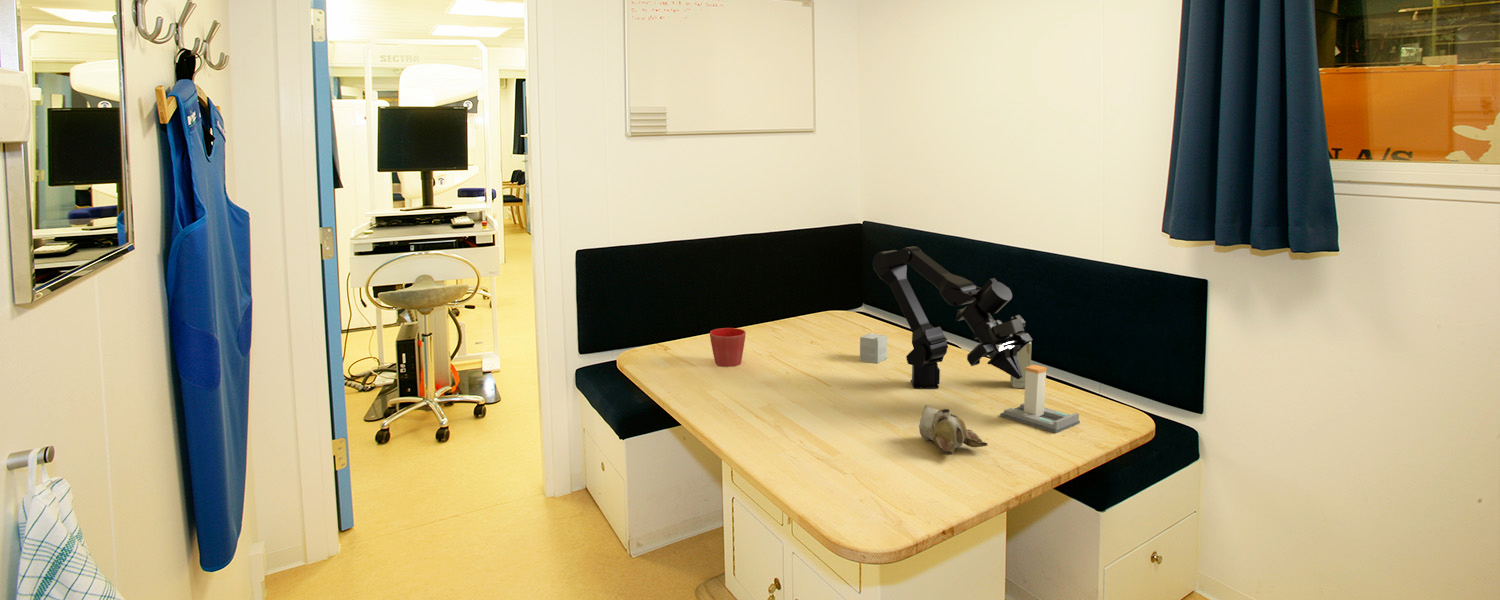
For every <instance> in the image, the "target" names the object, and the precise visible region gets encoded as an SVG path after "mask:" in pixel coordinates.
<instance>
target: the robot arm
mask: <svg viewBox="0 0 1500 600" xmlns="http://www.w3.org/2000/svg"><path fill="white" fill-rule="evenodd" d="M871 264H872V268H873V270H874V271H875V273H876V274H877V275H878V277H879V278H880V280H883V282H884V283H886V284H887V285H889V287H890V289H891V291H892V293H893V295H894V297H895V299H896V301H897V303H898V306H899V307H900V309H901V312H902V314H903V315H904V318H905V320H906V321H907V323H908V326H909V328H910V330H911V332H912V335H911V345H912V347H913V349H912V350H911V351H909V352H908V354H907V355H906V357H905V358H906V362H907V364H908V365H911V379H910V384H911V386H912V387H913V389H939V387H940V386H939V385H940V380H941V379H940V377H941V369H940V368H939V363H941V362H943V361H944V360H943V359H944V357H945V355H946V354H947V351H948V348H949V345H948V342H947V341H948V338H947V337H946V336H945V334H944V331H943V329H942V327H941V326H936V327H934V326H933V325H932V324H931V323H930V321H929V320H928V318H927V316H926V314H925V312H924V310H923V307H922V306H921V303H920V302H919V300H918V298H917V296H916V294H915V292H914V290H913V288H912V286H911V284H910V282H909V280H908V278H907V272H908V271H907V269H908V266H907V265H909V266H910V267H911V268H912V269H913V270H915V271H916V272H917V273H919V274H920V275H921V276H922V277H924V278H925V279H926V280H927V281H929V282H930V283H932V285H934V286H935V287H936V288H937V290H938V291H939V294H940V296H941V297H942V298H943V299H944V301H945V302H946V303H947V304H948V305H949V306H951V307H958V306H959V307H960V306H963V305H965V307H964V308H960V309H957V310H956V312H957V313H956V317H955V321H956V322H960V321H963V320H964V321H965V322H966V323H967V325H968V327H969V328H970V330H971V331H972V332H973V335H972V337H971V338H972V339H973V340H974V341H975V340H978V341H979V342H980V343H979V344H978V345H976V346H975V347H974V348H973V349H972V350H971V351H969V353H967V356H966V361H967V362H968V364H969V365H970V367H974V366H977V365H980V363H981V359H982V358H985V357H988V356H989V357H988V358H989V359H990V360H988V361H987V364H988V365H991V366H992V367H995V368H997V369H999V370H1001V371H1003V372H1004V373H1006V374H1008V375H1010V377H1011V376H1013V377H1014V378H1016V379H1020V378H1022V373H1021V370H1020V366H1019V363H1018V359H1017V352H1019V351H1020V350H1021V349H1023V348H1024V347H1025V346H1026V345H1027V344H1028V343H1030V342H1031V343H1032V341H1033V338H1032V337H1031V335H1030V333H1028V332H1025V327H1026V325H1027V324H1026V323H1027V322H1026V321H1025V320H1024V318H1023V317H1022V316H1021V315H1020V314H1017V315H1014V316H1011V317H1010V320H1009V321H1005V322H1002V320H999V319H997V320H995V319H994V318H993V316H992V315H995V314H997V313H998V312H999V311H1000V310H1001V309H1002V308H1003V307H1004V306H1006V305H1007V303H1009V302H1010V301H1011V300H1012V298H1013V292H1012V291H1011V289H1010V287H1008V286H1006V284H1004V283H1002V282H1001V281H998V280H997V279H996V278H994V277H993V278H989V279H988V280H987V281H986V282H985V284H984V285H983V286H982V287H979V286H977V285H976V284H975V283H974V282H972V281H971V280H968V279H967V278H965V277H963V276H959V275H956V274H953V273H951V272H949V271H948V270H947V269H946V268H944V267H943V266H942V265H941V264H939V263H937V262H936V261H935V260H934V259H933V258H931V257H930V256H929V255H927V254H926V253H924V252H923V251H922V249H921V248H920V247H918V246H908V247H904V248H902V249H898V250H897V249H893V250H888V251H887V250H885V251H880V252H876V253H875V254H874V255H873V258H872V263H871ZM991 314H992V315H991Z"/></svg>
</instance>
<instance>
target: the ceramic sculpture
mask: <svg viewBox="0 0 1500 600" xmlns="http://www.w3.org/2000/svg"><path fill="white" fill-rule="evenodd" d="M918 428H919V434H920V436H921V437H922V439H924V440H926V441H929V440H931V441H932V442H934V445H935V447H936V448H937V450H938V451H939V452H941V453H942V454H945V455H953V454H954V451H955V449H958V448H959V447H962V446H963V444H964V445H966V446H968V447H971V448H981V447H987V446H988V442H984V441H983V440H982V439H981V438H980V437H979V436H978V434H977V433H976V432H974V431H973V430H972V429H967V426H966V423H965V421H964V420H963V419H962V418H960V417H959V416H958V415H954V414H953V413H952V411H951V410H950V408H944V409H940V410H938V409H937V408H934V407H932V406H930V405H928V404H926V405H924V409H923V411H922V415H921V417H920V421H919V425H918Z"/></svg>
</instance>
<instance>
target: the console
mask: <svg viewBox="0 0 1500 600" xmlns="http://www.w3.org/2000/svg"><path fill="white" fill-rule="evenodd" d="M999 416H1000V417H1002V418H1005V419H1009V420H1012V421H1014V422H1018V423H1021V424H1024V425H1027V426H1031V427H1034V428H1037V429H1041V430H1043V431H1048V432H1051V433H1053V434H1054V433H1055V434H1058V433H1059V432H1062V431H1065V430H1067V429H1069V428H1071V427H1074V426H1076V425H1079V424H1080V423H1081V421H1080V420H1079V417H1080V414H1079V413H1078V412H1075V413H1072V414H1070V413H1066V412H1063V411H1058V410H1056V409H1052V408H1049V407H1045V406H1044V415H1041V416H1036V415H1033V414H1029V413H1026V412H1024V402H1023V403H1020V405H1019V406H1017V407H1014V408H1012V407H1009V408H1006V409H1004V410H1003V412H1001V413H1000V414H999Z"/></svg>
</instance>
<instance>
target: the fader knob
mask: <svg viewBox="0 0 1500 600" xmlns="http://www.w3.org/2000/svg"><path fill="white" fill-rule="evenodd" d="M1025 371H1026V378H1025V388H1024V398H1023V399H1024V400H1023V401H1024V402H1023V403H1024V412H1026V413H1029V414H1033V415H1036V416H1041V415H1044V407H1045V400H1046V399H1045V398H1046V380H1047V371H1048V367H1046V366H1042V365H1037V364H1031V366H1028V367H1025Z"/></svg>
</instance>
